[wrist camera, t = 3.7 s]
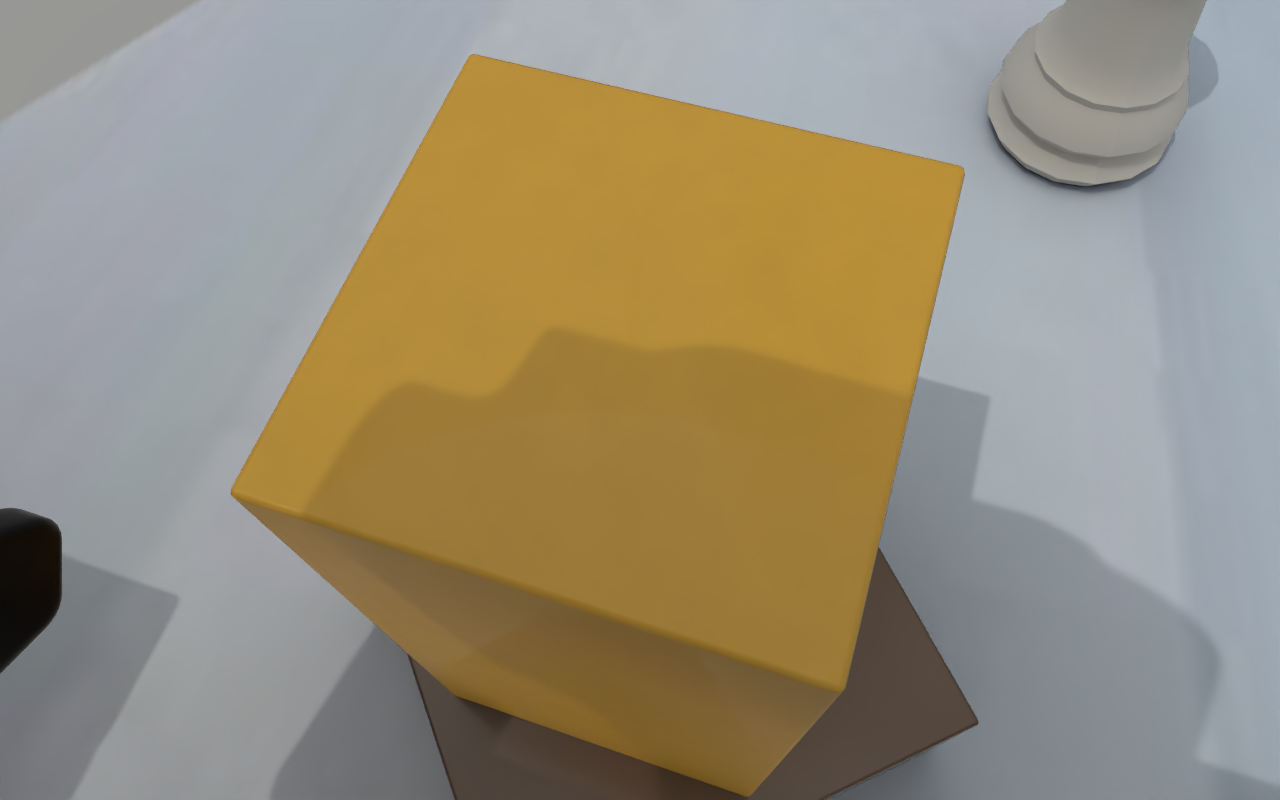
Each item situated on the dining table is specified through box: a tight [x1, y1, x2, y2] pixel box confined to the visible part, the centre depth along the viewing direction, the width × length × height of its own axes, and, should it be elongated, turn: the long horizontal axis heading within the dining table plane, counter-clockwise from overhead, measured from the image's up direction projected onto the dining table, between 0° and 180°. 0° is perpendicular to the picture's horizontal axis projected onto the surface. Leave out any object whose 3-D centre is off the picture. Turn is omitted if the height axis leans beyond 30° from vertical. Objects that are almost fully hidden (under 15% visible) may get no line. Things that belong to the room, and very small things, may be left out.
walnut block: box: [407, 547, 978, 800], centre depth 18 cm, size 8×8×3 cm
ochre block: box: [231, 54, 965, 797], centre depth 12 cm, size 5×5×9 cm
